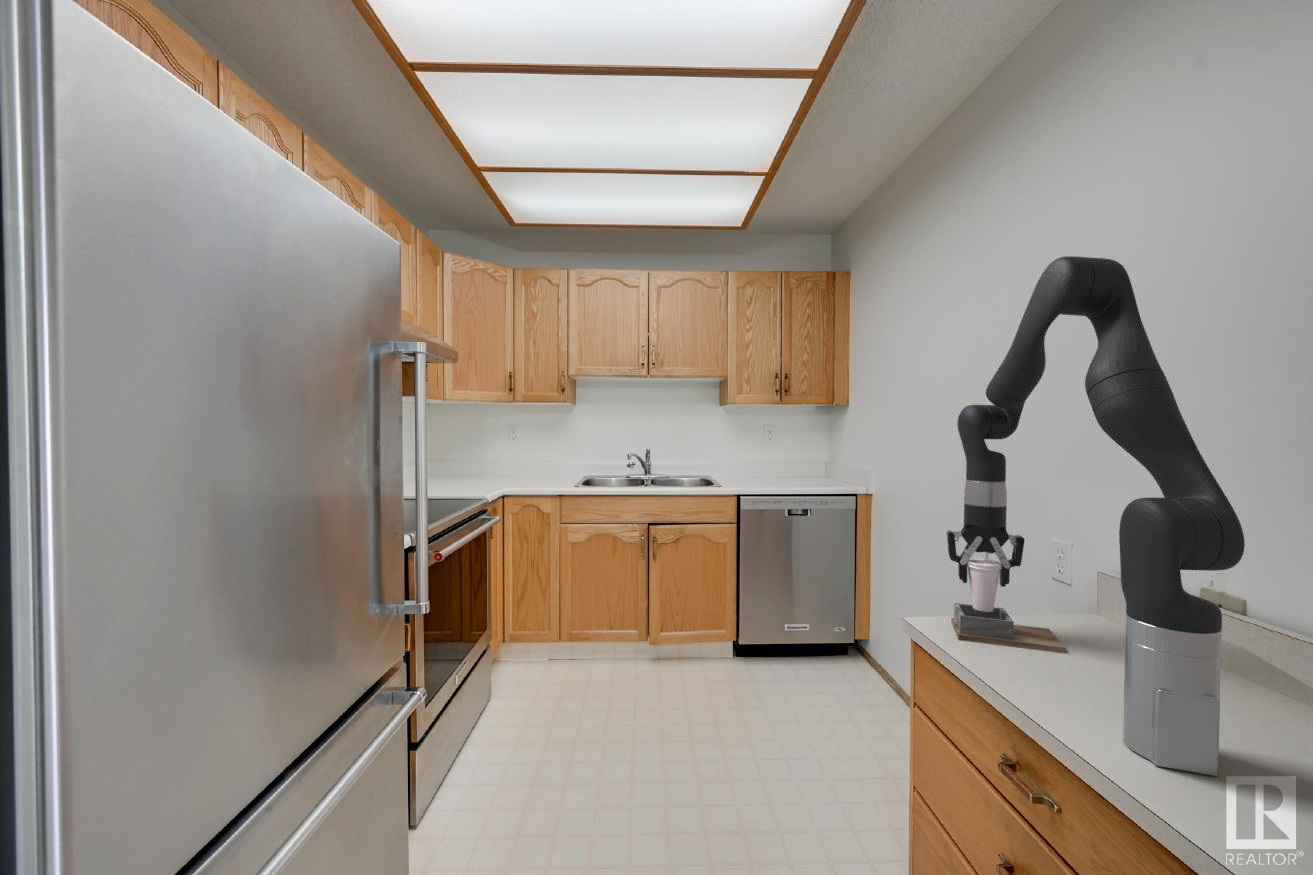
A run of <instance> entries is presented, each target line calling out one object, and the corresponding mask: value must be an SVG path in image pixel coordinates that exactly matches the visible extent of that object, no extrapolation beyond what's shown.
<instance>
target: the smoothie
mask: <svg viewBox="0 0 1313 875" xmlns="http://www.w3.org/2000/svg"><path fill="white" fill-rule="evenodd" d="M984 553H985V558H970V559H969V560H968V562H967V563H966V565H967V573H968V578H969V579H968V580H969V588H970V595H971V596H970V597H971V605H973V609H975V610H978V611H984V612H992V611H993V610H994V607H995V603H996V598H997V590H998V584H999V580H1000V570H1001V569H1002V564H1001V562H1000V561H996V560H992V559H989V554H990V553H987V552H984Z"/></svg>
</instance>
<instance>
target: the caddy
mask: <svg viewBox="0 0 1313 875" xmlns="http://www.w3.org/2000/svg"><path fill="white" fill-rule="evenodd" d="M953 609H954V610H953V617H951V619H950V620H951V624H952V627H953V630H954V631H955V634H956V638H957V639H958V641H966V642H974V643H983V644H988V645H989V644H991V645H998V646H1005V645H1006V646H1007V647H1015V648H1022V649H1029V650H1037V651H1038V650H1039V651H1045V652H1054V653H1062V654H1067V647H1066V646H1065V645H1064V643H1063V642H1061V641H1060V639H1059V638H1058V637H1057V636H1056V635H1055V634H1054V633H1053V631H1051V629H1050V628H1046V627H1035V626H1029V625H1027V626H1026V625H1021V624H1020V625H1019V624H1014V623H1015V621H1014V620H1013V619H1012V618H1011V616H1010V615H1009V613H1008V612H1007V611H1006V610H1005V608H1003V607H996V606H994V610H993V611H992V612H984V611H978V610H975V609H973V605H972V604H966V603H956V602H954V607H953Z"/></svg>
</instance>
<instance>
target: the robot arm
mask: <svg viewBox="0 0 1313 875" xmlns="http://www.w3.org/2000/svg"><path fill="white" fill-rule="evenodd" d="M1139 311H1140V310H1139V307H1138V304H1137V300H1136V296H1135V293H1134V288H1133V286H1132V282H1131V279H1130V276H1129V273H1128V272H1127V270H1126V269H1125V267H1124V265H1122V264H1121V263H1120V262H1118V261H1116V260H1114V259H1110V258H1103V257H1089V256H1088V257H1087V256H1086V257H1085V256H1072V255H1071V256H1070V255H1069V256H1067V255H1066V256H1060V257H1057V258H1056V259H1054V260H1053V261H1052V262H1050V263H1049V264H1048V265H1047V266H1046V268H1045V269H1044V270H1043V271H1042V273H1041V275H1040V276H1039V279H1037V282H1036V284H1035V287H1034V289H1033V290H1032V293H1031V296H1030V298H1029V301H1028V304H1027V306H1026V308H1025V310H1024V313H1023V315H1022V317H1021V321H1020V323H1019V325H1018V328H1017V330H1016V334H1015V336H1014V338H1013V341H1012V343H1011V345H1010V347H1009V349H1008V351H1007V354H1006V356H1005V357H1004V359H1003V361H1002V362H1001V364H1000V366H998V368H997V371H996V372H995V374H994V375H993V376H992V378H991V380H990V381H989V383H988V385H987V386H986V388H985V397H986V399H987V400H988V401H989V402H990V403H991V404H969V405H966V406H964V407H963V409H961V411H960V413H959V415H958V418H957V424H956V425H957V430H958V435H959V438H960V441H961V444H962V445H961V446H962V448H963V452H964V455H965V461H966V463H965V464H966V466H965V468H966V469H965V471H966V472H965V478H966V479H965V485H964V490H963V492H964V493H963V494H964V495H963V504H964V505H963V527H962V529H961V531H956V530H955V531H952V530H947V531H946V540H947V541H946V542H947V550H948V557H949V559H950V560H951V561H952V562H955V563H957V564H958V573H957V574H958V578H959V580H961V582H962V583H963V584H967V583H968V566H967V565H966V563H967V562H968V560H969V559H971V558H972V556H973V555H974V553H975V552H976V553H985V552H987V553H989V554H995V555H996V557H997V559H998V560H999V561H998V562H1000V563H1001V564H1002V569H1001V570H1000V572H999V586H1000V588H1001V587H1003V588H1006V587H1007V586H1006V585H1009V584H1010V570H1011V568H1013V567H1021V565H1022V560H1023V554H1024V553H1023V552H1024V547H1025V540H1026V539H1025V538H1024V536H1022V535H1020V534H1015V535H1014V534H1009V532H1008V531H1007V508H1008V506H1007V503H1008V502H1007V501H1008V498H1007V496H1008V492H1007V485H1006V484H1007V483H1006V482H1007V481H1006V477H1007V476H1006V475H1007V474H1006V473H1007V458H1006V456H1005V455H1004V454H1003V453H1002V452H1000V451H995V450H990V449H989V448H988V446H987V443H986V441H985V440H1004V439H1007V438H1009V437H1011V436H1012V435H1013V434H1014V433H1015V432H1016V430H1017V429H1018V426H1019V423H1020V420H1021V416H1022V413H1023V409H1024V406H1025V403H1026V401H1027V400H1028V398H1029V397H1030V395H1031V393H1032V392H1033V391H1034V389H1035V388H1036V387H1037V385H1038V384H1039V382H1040V381H1041V379H1042V377H1043V375H1044V372H1045V370H1046V362H1047V360H1046V350H1045V347H1046V346H1045V340H1046V335H1047V332H1048V330H1049V328H1050V326H1051V325H1052V324H1053V323H1054V321H1055V320H1056V318H1057V317H1058V316H1060V315H1065V316H1066V315H1067V316H1077V317H1078V316H1079V317H1085V318H1087V319H1088V320H1089V321H1090V323H1091V324H1092V326H1093V329H1094V333H1095V335H1096V339H1097V349H1096V352H1095V354H1094V356H1093V358H1092V359H1091V362H1090V363H1089V366H1088V368H1087V372H1086V374H1085V380H1084V388H1085V392H1086V396H1087V398H1088V401H1089V404H1090V407H1091V409H1092V412H1093V414H1094V417H1095V420H1096V422H1097V424H1098V425H1099V427H1100V428H1101V430H1102V431H1103V432H1104V433H1105V434H1106V435H1107V436H1108V437H1109V438H1110V439H1111V440H1112V441H1114V442H1115V443H1116V444H1117V445H1118V446H1119V447H1120V448H1121V449H1123V450H1124V451H1125V452H1127V454H1129V455H1130V456H1131V457H1132V458H1134V459H1135V460H1136V461H1137V462H1138V463H1139V464H1141V466H1143V467H1144V469H1146V470H1147V471H1148V472H1149V474H1150V475H1151V476H1152V477H1153V479H1154V480H1155V482H1156V483H1157V486H1158V488H1159V489H1160V491H1161V493H1162V495H1163V497H1140V498H1137V499H1133V500H1132V501H1130V503H1128V504H1127V505H1126V507H1125V508H1124V509H1123V511H1122V515H1121V518H1120V521H1119V530H1118V531H1119V532H1118V537H1119V538H1118V540H1119V541H1118V542H1119V560H1120V561H1119V562H1120V585H1121V589H1122V594H1123V597H1124V600H1125V606H1126V607H1125V615H1126V616H1125V637H1124V638H1125V639H1124V640H1125V643H1124V646H1125V647H1124V678H1123V679H1124V682H1123V683H1124V686H1123V718H1122V720H1123V727H1122V740H1123V742H1124V744H1125V745H1126V746H1127V747H1128V748H1129V749H1130V750H1131V751H1132V752H1135V753H1137V755H1139V756H1142V757H1143V758H1146V759H1148V760H1149V761H1151V762H1152V763H1153V765H1155V766H1158V767H1162V768H1168V769H1173V770H1174V769H1175V770H1179V771H1185V772H1192V773H1196V774H1203V775H1209V776H1213V777H1218V776H1219V756H1220V755H1219V754H1220V752H1219V751H1220V750H1219V749H1220V748H1219V746H1220V724H1221V723H1220V722H1221V720H1220V714H1221V713H1220V712H1221V665H1222V662H1221V661H1222V638H1223V637H1222V636H1223V631H1222V630H1223V614H1222V613H1223V612H1222V611H1221V608H1220V607H1219V606H1218V605H1217V604H1215V603H1213V602H1212V601H1209V600H1207V599H1205V598H1202V597H1198V596H1196V595H1193V594H1190V593H1188V592H1187V591H1186V590H1185V589H1184V587H1183V583H1182V573H1181V571H1206V572H1208V571H1213V572H1215V571H1225V570H1229V569H1232V568H1234V567H1235V566H1236V565H1237V564H1239V562H1240V561H1241V560H1242V558H1243V555H1244V553H1245V546H1246V544H1245V534H1244V530H1243V527H1242V524H1241V522H1240V520H1239V517H1238V515H1237V513H1236V511H1235V509H1234V507H1233V506H1232V504H1231V502H1230V501H1229V499H1228V497H1227V496H1226V494H1225V492H1224V491H1223V489H1222V487H1221V486H1220V484H1219V483H1218V481H1217V480H1216V478H1215V476H1214V474H1213V473H1212V471H1211V469H1210V468H1209V466H1208V465H1207V463H1206V461H1205V459H1204V458H1203V456H1202V454H1201V453H1200V452H1201V451H1199V449H1198V446H1197V444H1196V442H1195V440H1194V438H1193V436H1192V434H1191V432H1190V430H1189V428H1188V425H1187V423H1186V422H1185V419H1184V418H1183V415H1182V413H1181V411H1180V409H1179V406H1178V403H1177V401H1176V398H1175V394H1174V393H1173V390H1172V388H1171V386H1170V384H1169V380H1168V379H1167V377H1166V375H1165V373H1164V371H1163V369H1162V366H1161V365H1160V363H1159V361H1158V358H1157V357H1156V354H1155V352H1154V350H1153V347H1152V344H1151V342H1150V339H1149V336H1148V334H1147V331H1146V329H1145V327H1144V324H1143V321H1142V319H1141V318H1142V317H1141V314H1140V312H1139ZM960 537H961V538H963V539H964V542H966V545H965V546H964V548H963V549H962V550H963V551H961V554H960V555H958V554H957V545H956V543H957V542H959V541H960ZM1008 540H1009V542H1010V544H1011V546H1012V553H1011V559H1008V558H1007V557H1006V554H1005V552H1004V551H1003V546H1004V545H1005V544H1006V543H1007V541H1008Z"/></svg>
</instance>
